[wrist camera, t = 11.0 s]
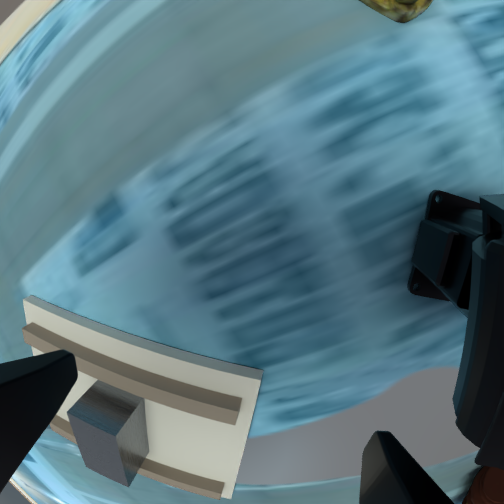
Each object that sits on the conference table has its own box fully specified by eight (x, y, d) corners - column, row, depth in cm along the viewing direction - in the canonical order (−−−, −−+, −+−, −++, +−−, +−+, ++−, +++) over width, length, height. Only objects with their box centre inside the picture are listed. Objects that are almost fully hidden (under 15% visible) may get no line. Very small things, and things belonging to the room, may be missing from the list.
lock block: (144, 396, 22) (115, 436, 17) (149, 451, 24) (128, 487, 19) (98, 378, 22) (66, 412, 18) (109, 435, 24) (86, 466, 20)
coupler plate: (263, 370, 21) (257, 394, 18) (233, 490, 25) (227, 509, 23) (31, 295, 23) (12, 305, 21) (61, 423, 28) (50, 436, 25)
